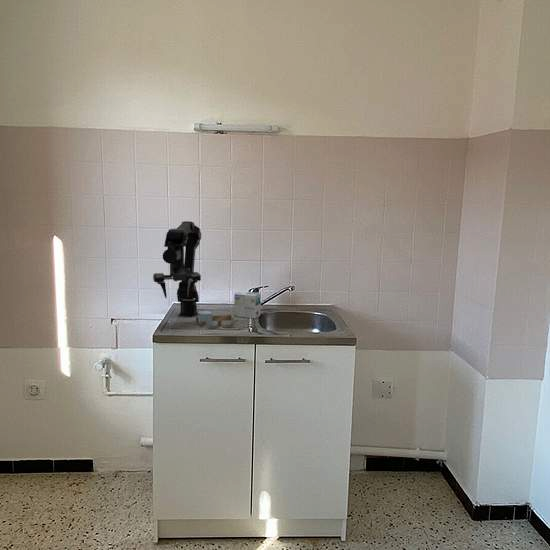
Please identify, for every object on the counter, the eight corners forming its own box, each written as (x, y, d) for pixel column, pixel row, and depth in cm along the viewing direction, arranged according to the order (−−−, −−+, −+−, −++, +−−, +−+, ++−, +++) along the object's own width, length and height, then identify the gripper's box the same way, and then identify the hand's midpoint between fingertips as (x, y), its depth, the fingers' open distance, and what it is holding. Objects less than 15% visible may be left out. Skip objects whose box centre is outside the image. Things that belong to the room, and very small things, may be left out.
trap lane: (202, 329, 197) (202, 324, 197) (195, 321, 209) (195, 316, 209) (240, 327, 202) (240, 322, 202) (231, 319, 215) (231, 314, 214)
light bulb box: (260, 315, 223) (261, 292, 221) (255, 319, 216) (256, 295, 215) (239, 313, 226) (239, 290, 224) (233, 316, 220) (233, 293, 218)
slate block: (200, 325, 203) (200, 314, 202) (198, 322, 208) (198, 311, 207) (212, 325, 205) (212, 313, 204) (209, 322, 209) (209, 310, 208)
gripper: (155, 263, 187) (156, 302, 190) (203, 262, 193) (203, 300, 196) (152, 259, 197) (153, 297, 200) (198, 258, 204) (198, 295, 206)
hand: (177, 297), depth 200 cm, fingers open, 9 cm apart
